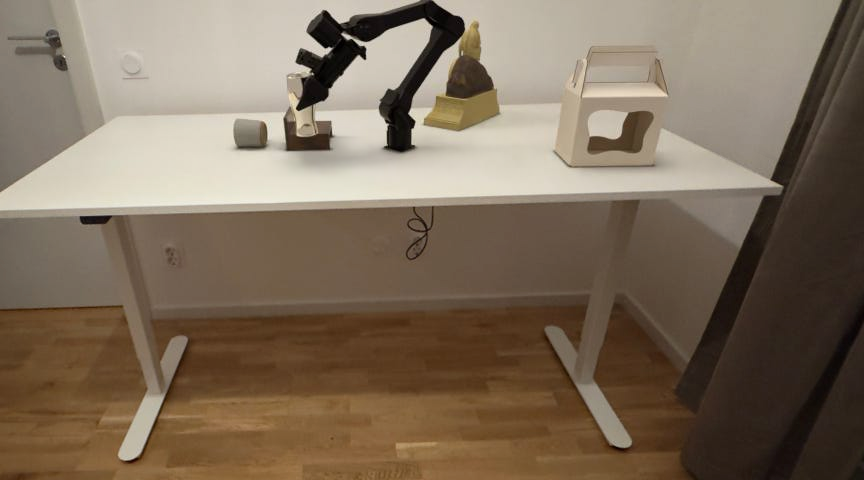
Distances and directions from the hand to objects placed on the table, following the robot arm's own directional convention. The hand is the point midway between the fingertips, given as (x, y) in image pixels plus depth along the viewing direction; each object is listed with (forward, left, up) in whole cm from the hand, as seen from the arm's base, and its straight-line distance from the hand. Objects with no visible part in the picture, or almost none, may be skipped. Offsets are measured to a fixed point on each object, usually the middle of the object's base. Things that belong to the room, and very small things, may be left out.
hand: (298, 106), depth 138 cm
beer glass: (-1, -1, -7) cm, 7 cm away
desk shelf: (+7, -10, -13) cm, 18 cm away
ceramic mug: (+19, +2, -13) cm, 23 cm away
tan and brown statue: (-12, -61, -13) cm, 64 cm away
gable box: (-64, -49, -13) cm, 82 cm away
